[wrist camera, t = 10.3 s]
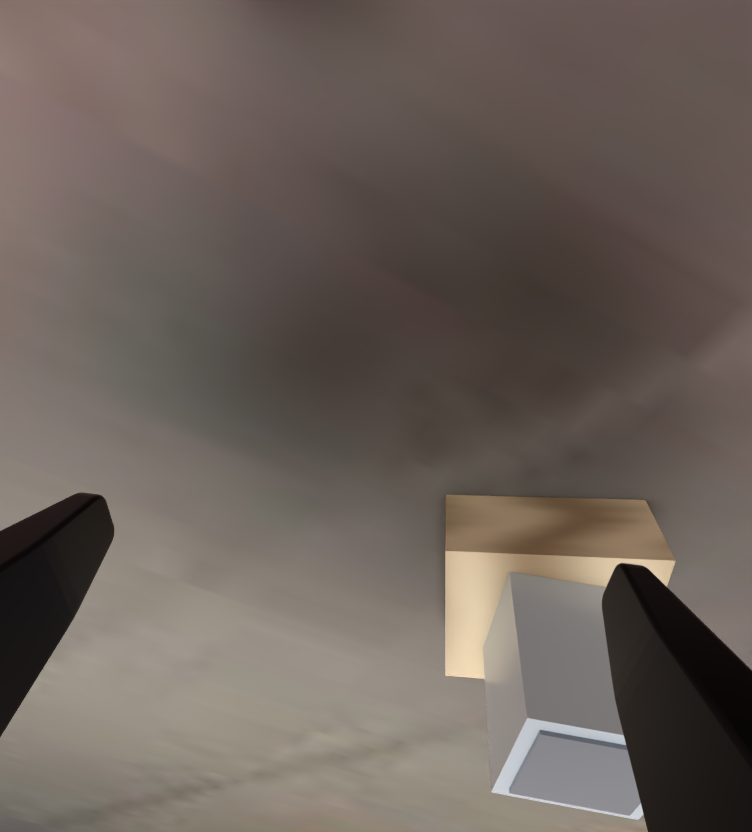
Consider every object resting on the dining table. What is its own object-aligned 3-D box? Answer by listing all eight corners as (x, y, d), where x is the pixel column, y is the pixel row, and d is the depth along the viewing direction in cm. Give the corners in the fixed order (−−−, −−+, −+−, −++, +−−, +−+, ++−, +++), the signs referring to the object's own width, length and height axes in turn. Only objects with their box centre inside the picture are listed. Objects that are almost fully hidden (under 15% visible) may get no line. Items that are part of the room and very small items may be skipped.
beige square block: (642, 494, 23) (675, 560, 20) (609, 619, 28) (631, 690, 24) (446, 489, 24) (445, 551, 21) (445, 609, 29) (445, 675, 26)
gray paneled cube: (641, 592, 21) (704, 754, 16) (598, 667, 24) (639, 824, 19) (509, 571, 21) (527, 722, 16) (482, 648, 24) (491, 796, 19)
